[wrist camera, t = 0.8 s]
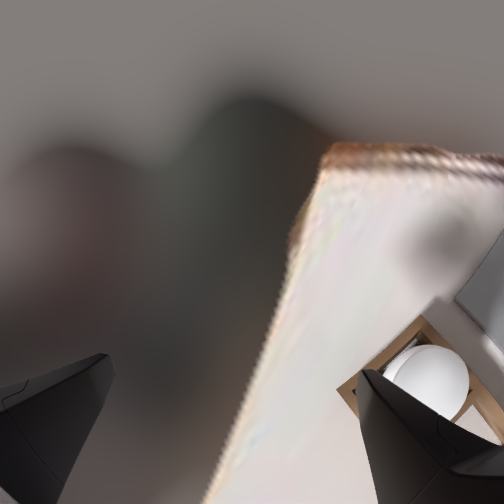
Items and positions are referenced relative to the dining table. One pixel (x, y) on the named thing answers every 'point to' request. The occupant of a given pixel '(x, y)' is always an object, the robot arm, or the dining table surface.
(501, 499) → the robot arm
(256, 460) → the dining table surface
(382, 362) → the brown two-compartment frame
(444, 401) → the supplement bottle
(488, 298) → the coaster
